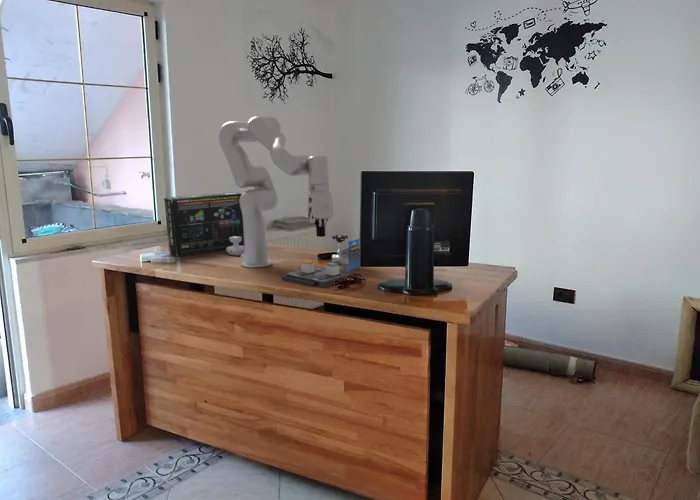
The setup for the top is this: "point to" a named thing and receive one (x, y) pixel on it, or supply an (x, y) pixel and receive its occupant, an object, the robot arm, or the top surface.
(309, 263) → the orange-capped toggle
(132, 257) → the top surface
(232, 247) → the stamp
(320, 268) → the back cord
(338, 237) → the valve
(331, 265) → the grey-capped toggle
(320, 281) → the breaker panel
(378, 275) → the top surface
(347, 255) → the label tape box
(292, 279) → the dark grey bar
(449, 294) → the top surface
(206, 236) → the router box
